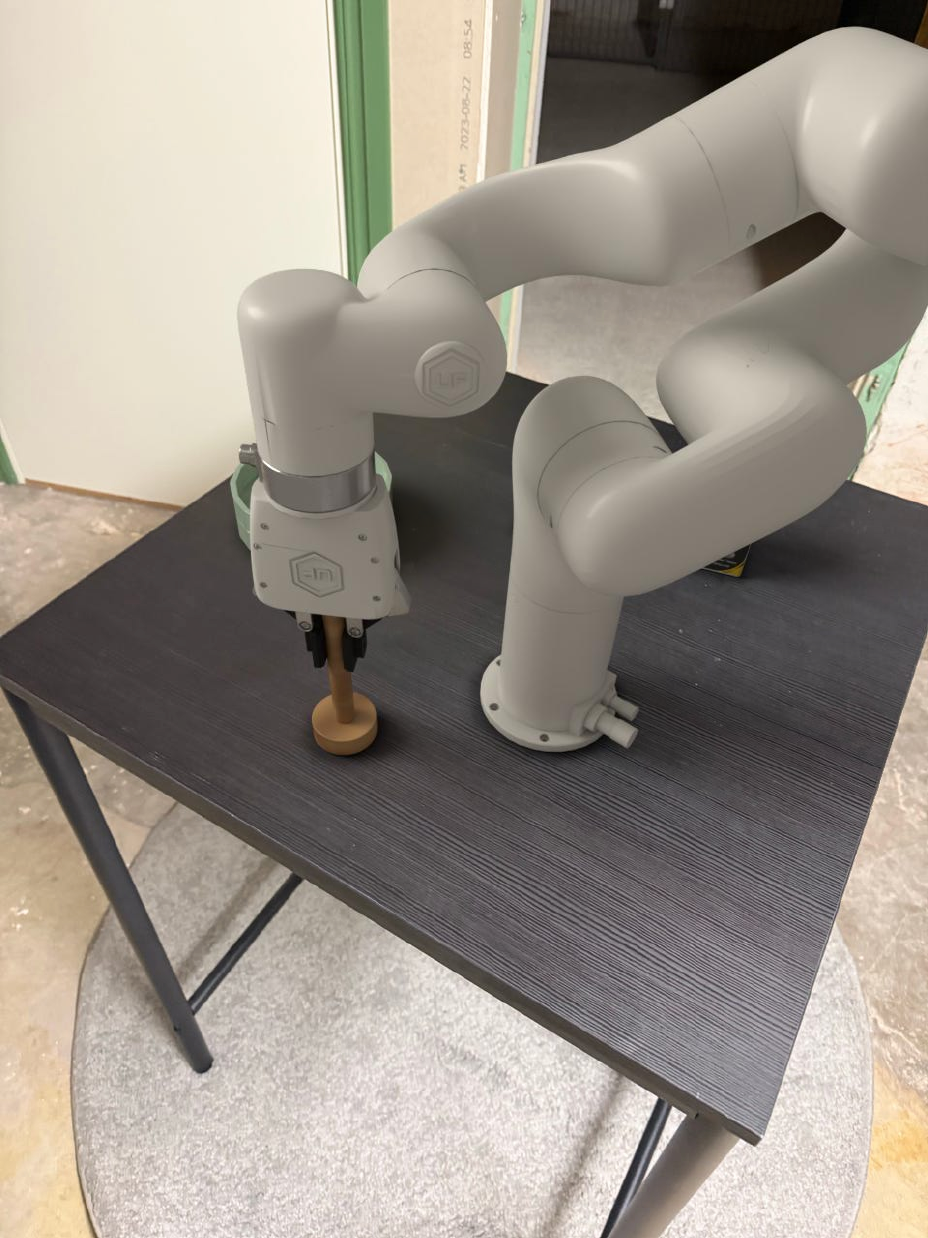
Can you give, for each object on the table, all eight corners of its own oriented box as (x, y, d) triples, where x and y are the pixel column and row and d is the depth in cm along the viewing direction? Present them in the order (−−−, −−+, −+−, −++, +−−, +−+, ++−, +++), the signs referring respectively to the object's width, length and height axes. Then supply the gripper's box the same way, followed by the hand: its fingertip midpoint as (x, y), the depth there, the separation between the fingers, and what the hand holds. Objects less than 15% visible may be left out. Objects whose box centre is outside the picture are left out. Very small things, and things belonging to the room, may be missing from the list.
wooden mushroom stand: (390, 726, 77) (384, 604, 67) (347, 766, 74) (334, 644, 64) (344, 696, 80) (332, 573, 69) (300, 733, 77) (280, 611, 66)
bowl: (423, 517, 100) (423, 474, 96) (316, 595, 90) (311, 550, 86) (315, 461, 107) (311, 419, 103) (206, 527, 97) (196, 483, 93)
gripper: (183, 488, 56) (228, 679, 68) (426, 514, 54) (426, 704, 67) (222, 425, 61) (257, 614, 74) (445, 448, 60) (441, 636, 73)
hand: (338, 656), depth 70 cm, fingers closed on wooden mushroom stand
